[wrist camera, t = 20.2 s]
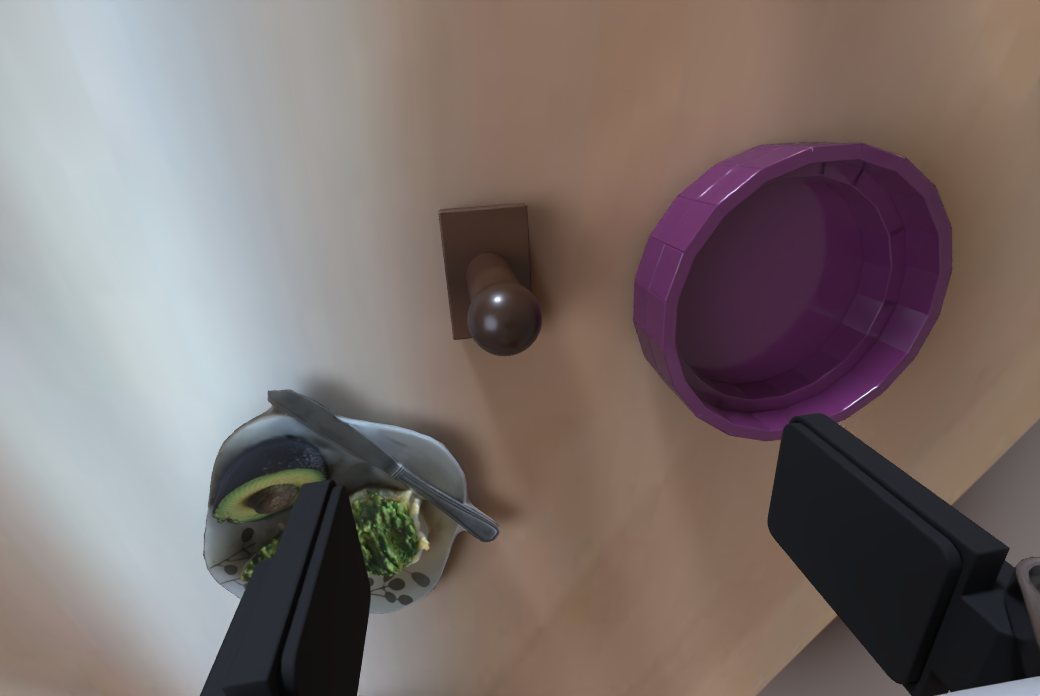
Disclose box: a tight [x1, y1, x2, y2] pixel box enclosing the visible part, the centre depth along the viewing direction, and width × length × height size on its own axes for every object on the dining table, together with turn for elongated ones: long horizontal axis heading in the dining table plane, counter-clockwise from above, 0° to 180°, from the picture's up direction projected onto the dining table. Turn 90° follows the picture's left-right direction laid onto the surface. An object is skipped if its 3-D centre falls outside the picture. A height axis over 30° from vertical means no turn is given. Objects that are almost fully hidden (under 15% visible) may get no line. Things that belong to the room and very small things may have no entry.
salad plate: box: [203, 390, 499, 614], centre depth 34 cm, size 19×18×5 cm
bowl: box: [633, 142, 952, 441], centre depth 31 cm, size 18×18×6 cm
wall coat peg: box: [439, 203, 542, 356], centre depth 25 cm, size 7×5×12 cm, turn 3°
